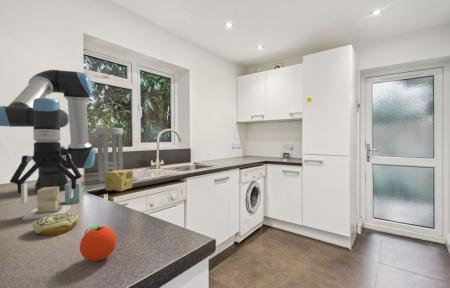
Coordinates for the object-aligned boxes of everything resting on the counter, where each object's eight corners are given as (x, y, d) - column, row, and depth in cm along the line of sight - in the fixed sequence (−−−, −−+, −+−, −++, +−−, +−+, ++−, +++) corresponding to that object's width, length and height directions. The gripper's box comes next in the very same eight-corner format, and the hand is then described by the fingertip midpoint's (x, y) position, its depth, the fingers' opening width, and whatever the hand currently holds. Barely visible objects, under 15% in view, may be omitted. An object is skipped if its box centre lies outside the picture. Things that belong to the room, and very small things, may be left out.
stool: (127, 180, 146) (126, 128, 145) (102, 183, 134) (101, 127, 134) (117, 177, 156) (116, 129, 155) (93, 180, 144) (92, 128, 144)
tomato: (68, 263, 46) (67, 229, 46) (98, 248, 52) (97, 218, 52) (95, 271, 43) (95, 235, 43) (123, 254, 49) (123, 222, 49)
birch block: (42, 209, 80) (42, 187, 80) (59, 207, 82) (59, 186, 82) (37, 213, 76) (37, 190, 76) (55, 211, 78) (54, 189, 78)
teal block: (68, 201, 94) (67, 183, 94) (81, 199, 96) (81, 182, 96) (65, 204, 90) (64, 185, 90) (79, 202, 92) (79, 184, 92)
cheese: (121, 191, 112) (121, 172, 112) (103, 190, 114) (103, 172, 114) (133, 187, 122) (133, 169, 122) (117, 186, 125) (116, 169, 124)
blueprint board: (35, 210, 82) (35, 208, 81) (70, 206, 86) (70, 204, 86) (22, 220, 71) (22, 217, 71) (63, 215, 76) (63, 212, 76)
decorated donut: (29, 241, 57) (29, 227, 56) (36, 228, 65) (35, 215, 65) (77, 231, 62) (77, 218, 62) (77, 220, 71) (77, 209, 71)
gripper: (-5, 141, 70) (-4, 207, 70) (86, 141, 80) (87, 198, 80) (7, 142, 77) (8, 201, 77) (89, 141, 87) (90, 193, 87)
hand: (48, 200), depth 79 cm, fingers open, 13 cm apart
